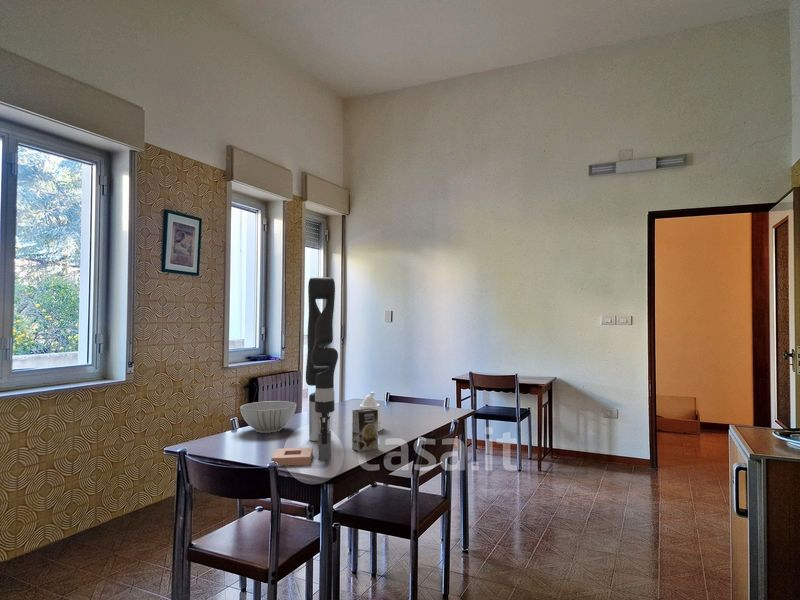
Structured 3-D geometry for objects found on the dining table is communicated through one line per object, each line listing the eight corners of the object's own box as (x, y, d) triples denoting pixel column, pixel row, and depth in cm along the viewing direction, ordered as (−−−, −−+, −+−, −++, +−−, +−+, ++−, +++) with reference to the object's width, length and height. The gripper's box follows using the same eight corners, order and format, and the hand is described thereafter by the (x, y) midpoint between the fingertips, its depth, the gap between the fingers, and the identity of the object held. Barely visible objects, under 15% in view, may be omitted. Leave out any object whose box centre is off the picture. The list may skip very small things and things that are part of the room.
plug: (319, 456, 202) (319, 431, 202) (331, 456, 202) (330, 430, 203) (318, 459, 197) (318, 433, 198) (330, 459, 198) (330, 433, 198)
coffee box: (359, 452, 208) (359, 412, 208) (351, 449, 213) (351, 409, 214) (378, 448, 213) (378, 409, 214) (370, 445, 218) (370, 407, 219)
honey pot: (384, 426, 257) (383, 390, 258) (380, 432, 244) (380, 394, 245) (358, 426, 258) (358, 390, 259) (354, 431, 245) (353, 394, 246)
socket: (276, 456, 203) (276, 448, 203) (312, 455, 204) (312, 447, 204) (271, 466, 189) (271, 458, 189) (309, 465, 190) (309, 456, 190)
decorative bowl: (269, 439, 232) (269, 412, 233) (227, 433, 245) (227, 407, 246) (307, 427, 256) (307, 403, 256) (267, 422, 269) (267, 399, 269)
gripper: (316, 397, 207) (316, 437, 206) (313, 402, 193) (313, 446, 192) (334, 396, 208) (335, 437, 207) (333, 401, 194) (334, 445, 193)
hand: (324, 441), depth 200 cm, fingers open, 8 cm apart
